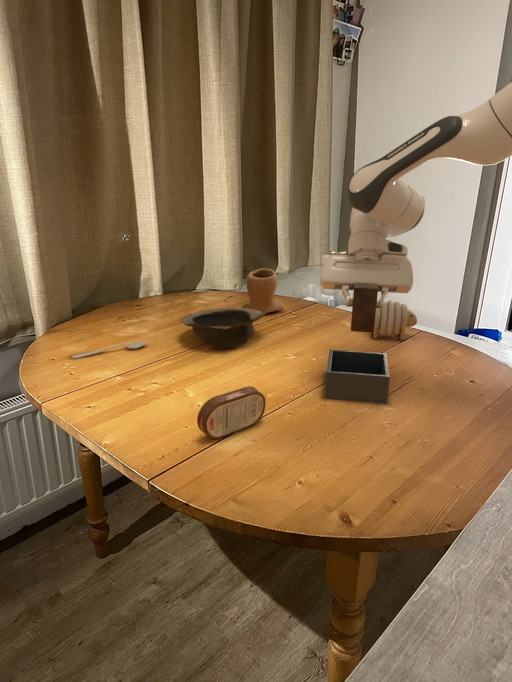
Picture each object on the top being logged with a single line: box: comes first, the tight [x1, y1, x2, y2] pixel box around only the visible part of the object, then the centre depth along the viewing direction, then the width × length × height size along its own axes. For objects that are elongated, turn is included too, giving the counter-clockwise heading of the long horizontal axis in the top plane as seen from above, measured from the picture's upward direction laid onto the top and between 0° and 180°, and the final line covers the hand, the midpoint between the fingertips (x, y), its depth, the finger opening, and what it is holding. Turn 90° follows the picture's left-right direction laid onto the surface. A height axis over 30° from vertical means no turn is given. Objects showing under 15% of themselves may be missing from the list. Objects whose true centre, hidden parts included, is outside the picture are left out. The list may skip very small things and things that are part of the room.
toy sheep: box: [372, 299, 418, 341], centre depth 148 cm, size 11×17×11 cm, turn 84°
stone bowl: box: [180, 307, 268, 350], centre depth 147 cm, size 25×25×9 cm
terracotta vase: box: [240, 267, 285, 314], centre depth 169 cm, size 15×12×15 cm
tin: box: [196, 385, 267, 439], centre depth 99 cm, size 15×3×8 cm, turn 126°
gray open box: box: [324, 349, 390, 405], centre depth 117 cm, size 14×14×7 cm
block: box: [350, 283, 379, 334], centre depth 110 cm, size 5×5×10 cm
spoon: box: [71, 340, 148, 359], centre depth 138 cm, size 4×21×2 cm, turn 114°
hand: (364, 306), depth 109 cm, fingers closed on block, 5 cm apart
